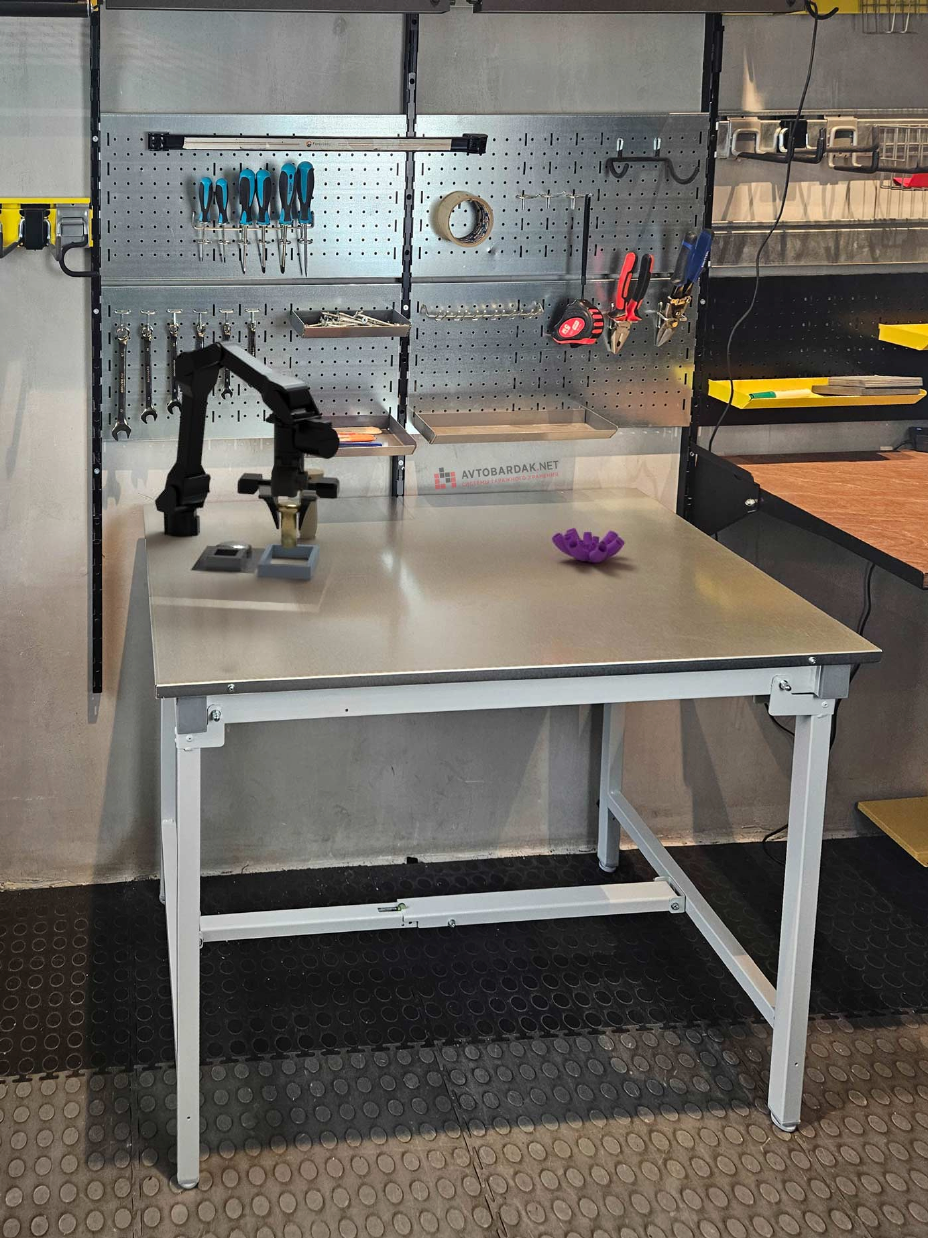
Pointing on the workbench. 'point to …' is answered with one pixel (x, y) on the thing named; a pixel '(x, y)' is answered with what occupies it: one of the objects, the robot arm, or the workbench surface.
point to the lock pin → (288, 523)
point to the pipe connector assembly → (588, 545)
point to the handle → (310, 509)
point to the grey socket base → (229, 558)
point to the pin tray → (287, 569)
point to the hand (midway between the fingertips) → (288, 529)
